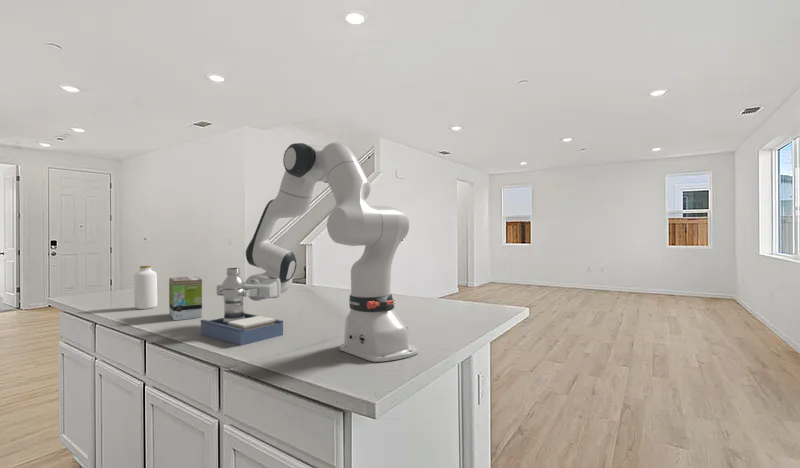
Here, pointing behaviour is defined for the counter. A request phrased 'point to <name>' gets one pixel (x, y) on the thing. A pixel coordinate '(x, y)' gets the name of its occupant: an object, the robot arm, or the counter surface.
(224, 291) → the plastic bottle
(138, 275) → the potion bottle
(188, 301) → the tea box
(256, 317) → the carton
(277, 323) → the tote
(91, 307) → the counter surface
